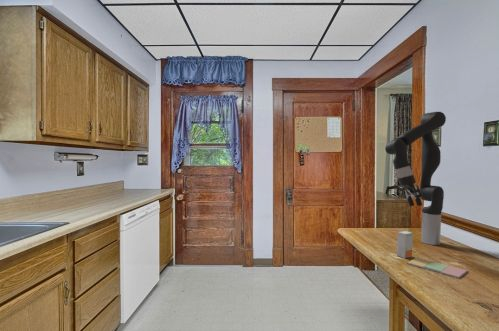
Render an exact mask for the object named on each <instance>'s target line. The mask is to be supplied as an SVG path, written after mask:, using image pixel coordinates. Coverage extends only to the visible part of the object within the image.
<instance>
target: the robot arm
mask: <svg viewBox="0 0 499 331" xmlns="http://www.w3.org/2000/svg"><path fill="white" fill-rule="evenodd" d="M446 120H447V117H446V115H445V113H443V112H442V111H431V112H427V113H425V112H424V114H422V115H421V116H420V121H419V122H420V124H419V125H416V126H414V127H411V128H409V129H407V131H405V132H403V133H402V134H401V135H399V136H397V137H396V138H394V139H393V140H391V141H389V142H387V143H386V144H385V152H386V153H387V154H388V155H395V158H393V159H392V164H393V166H394V168H395V169H394V170H395V172H396V176H397V179H398V183H399V185H400V187H402V188H401V190H402V194H403V197H404V199H406V200H407V202H408V204H409V206H410V207H413V206H415V204H416V206H417V207H420V206H421V207H422V205H423V204H422V201H425V202H426V201H427V202H430V205H429V206H424V207H422V209H421V210H422V213H421V214H422V215H421V236H420V237H421V240H420V242H421V243H423V244H426V245H432V246H440V245H441V232H442V231H441V229H442V228H441V227H442V226H441V225H442V212H443V208H444V198H445V197H444V196H445V193H444V189H443V187H442V186H438V185H431V183H432V177H433V175H434V173H435V172H436V171H437V169H438V168H439V166H440V165H441V156H442V155H441V150H440V147H439V145H438V144H437V142H436V141H435V139H434V136H433V131H435V130H437V129H439V128H441V127H443V126H444V125H445V123H446ZM420 138H421V176H420V184H419V185H418V184H416V183H417V180H416V179H415V178H416V177H415V175H414V172H413V169H412V167H411V165H410V162H409V161H408V160H409V159H408V150H407V147H408V146H410V145H411V144H414V142H416V141H417V140H419V139H420ZM415 184H416V185H415ZM413 198H414V200H415V202H416V203H414V200H413Z"/></svg>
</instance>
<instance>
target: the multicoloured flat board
mask: <svg viewBox="0 0 499 331" xmlns="http://www.w3.org/2000/svg"><path fill="white" fill-rule="evenodd" d="M406 265H409V266H412V267H416V268H419V267H420V269H424V270H426V269H427V271H430V272H433V273H437V274H441V275H444V276H448V277H452V278H454V277H455V278H454V279H457V280H458V279H461V278H462V277H463V276H465V275H466V274H467V273H468V272H469V271H468V270H467V269H463V268H460V267H456V266H451V265H447V264H445V263H440V262H436V261H432V260H428V259H425V258H421V257H415V258H413V259H411V260H409V261H407V262H406Z"/></svg>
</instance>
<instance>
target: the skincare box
mask: <svg viewBox="0 0 499 331" xmlns="http://www.w3.org/2000/svg"><path fill="white" fill-rule="evenodd" d="M396 244H397V247H396V248H397V249H396V256H398V257H400V258H402V259H408V258H412V257H413V244H414V233H413V232H412V231H407V230H405V231H404V230H402V231H398V232H397V243H396Z"/></svg>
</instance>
